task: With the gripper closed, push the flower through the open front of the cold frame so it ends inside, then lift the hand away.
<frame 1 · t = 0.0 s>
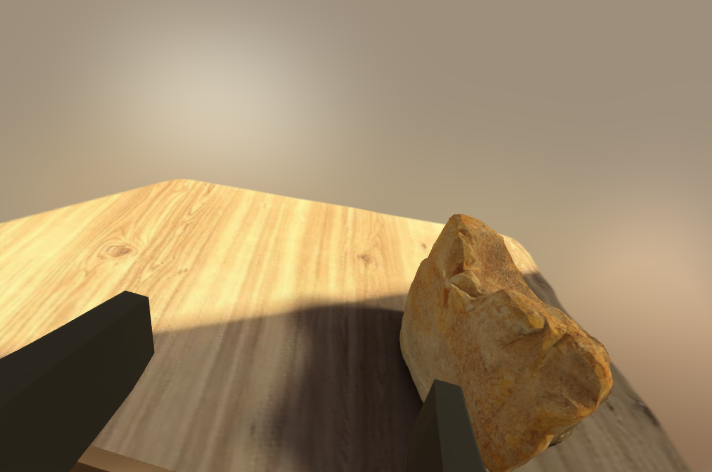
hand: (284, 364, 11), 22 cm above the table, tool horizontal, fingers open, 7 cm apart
rough brown rock: (490, 403, 41), on the table
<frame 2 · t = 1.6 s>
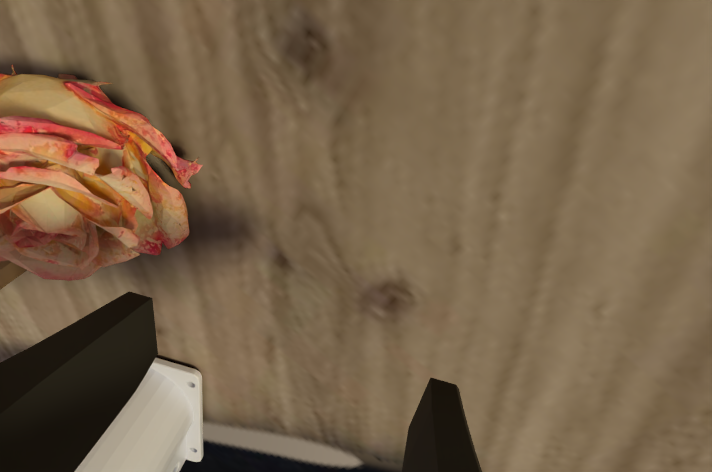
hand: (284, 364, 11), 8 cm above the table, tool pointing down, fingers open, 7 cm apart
flower: (137, 145, 19), on the table
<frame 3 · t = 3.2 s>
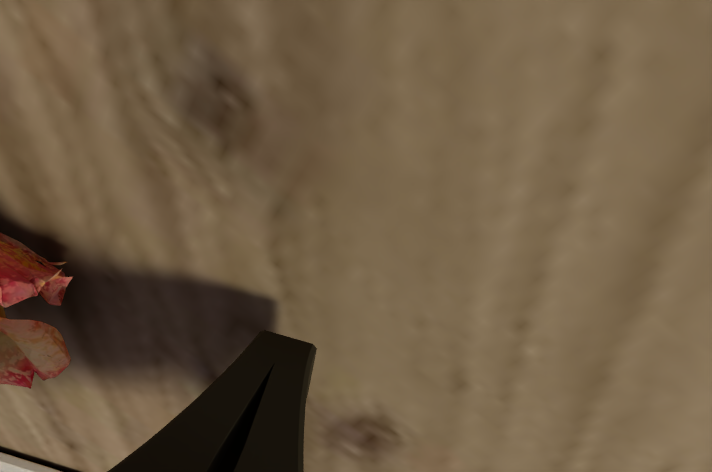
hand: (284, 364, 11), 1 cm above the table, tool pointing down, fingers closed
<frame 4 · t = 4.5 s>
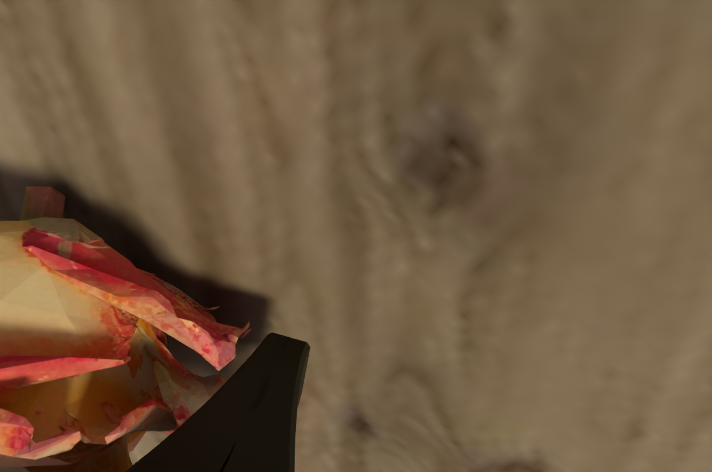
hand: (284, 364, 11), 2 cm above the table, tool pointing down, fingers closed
flower: (147, 273, 13), on the table, touching gripper
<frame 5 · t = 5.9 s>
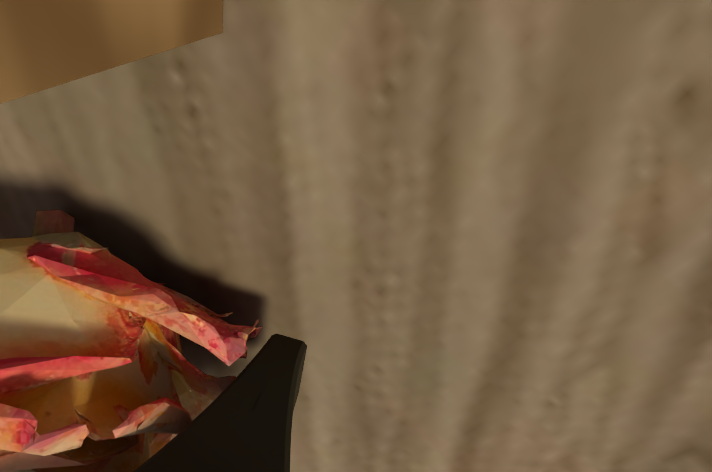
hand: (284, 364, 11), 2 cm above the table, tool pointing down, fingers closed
cold frame: (7, 240, 13), on the table
flower: (160, 287, 13), on the table, touching gripper
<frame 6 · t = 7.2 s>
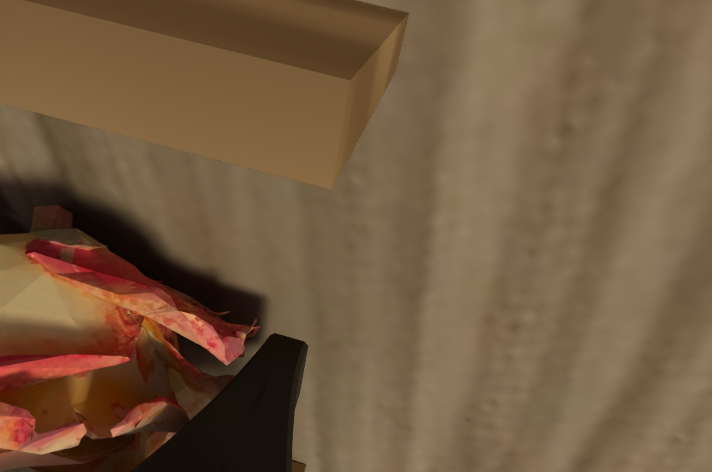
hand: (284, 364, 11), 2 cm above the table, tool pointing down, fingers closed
cold frame: (115, 269, 13), on the table
flower: (158, 285, 13), on the table, touching gripper
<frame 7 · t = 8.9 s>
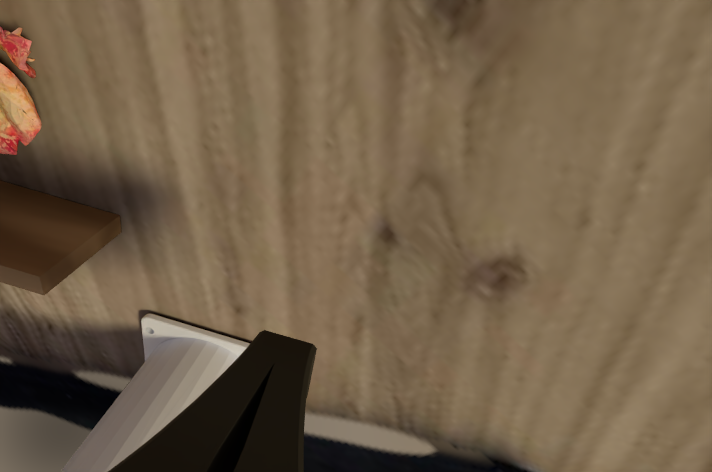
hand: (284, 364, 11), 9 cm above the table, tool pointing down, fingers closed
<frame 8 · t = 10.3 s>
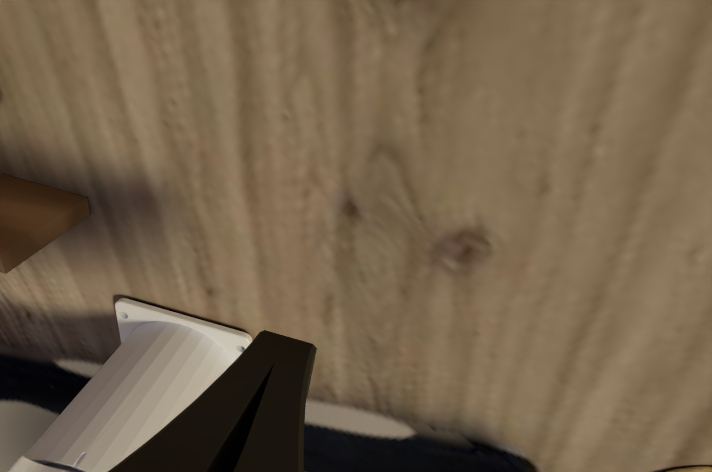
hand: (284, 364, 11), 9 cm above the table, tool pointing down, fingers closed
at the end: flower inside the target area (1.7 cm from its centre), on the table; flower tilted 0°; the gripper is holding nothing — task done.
